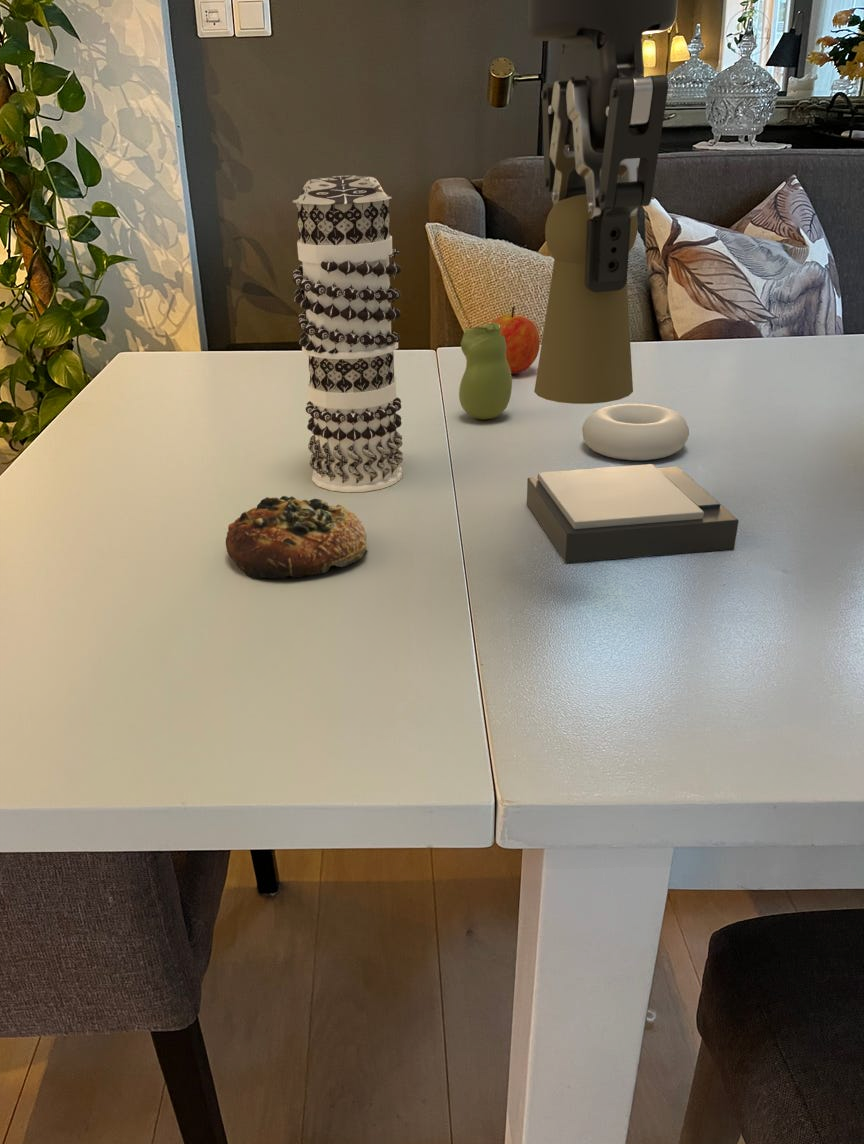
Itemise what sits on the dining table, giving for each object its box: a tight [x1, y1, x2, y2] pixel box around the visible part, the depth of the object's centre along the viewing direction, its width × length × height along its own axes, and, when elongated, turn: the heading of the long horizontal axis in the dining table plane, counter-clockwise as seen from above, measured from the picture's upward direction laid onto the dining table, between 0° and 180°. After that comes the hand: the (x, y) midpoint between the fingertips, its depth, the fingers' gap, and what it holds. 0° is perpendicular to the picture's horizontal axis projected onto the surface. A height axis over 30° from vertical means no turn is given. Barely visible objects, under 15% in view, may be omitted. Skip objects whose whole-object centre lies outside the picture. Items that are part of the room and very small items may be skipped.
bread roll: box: [225, 495, 369, 580], centre depth 73 cm, size 11×11×5 cm
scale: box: [526, 463, 740, 564], centre depth 75 cm, size 13×12×3 cm
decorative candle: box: [291, 175, 404, 493], centre depth 82 cm, size 9×9×25 cm
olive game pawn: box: [533, 194, 639, 405], centre depth 56 cm, size 6×6×11 cm
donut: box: [581, 403, 690, 461], centre depth 91 cm, size 10×4×10 cm
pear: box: [458, 322, 513, 421], centre depth 100 cm, size 6×5×10 cm
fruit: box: [490, 306, 541, 375], centre depth 117 cm, size 7×7×8 cm
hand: (588, 280), depth 56 cm, fingers closed on olive game pawn, 5 cm apart
